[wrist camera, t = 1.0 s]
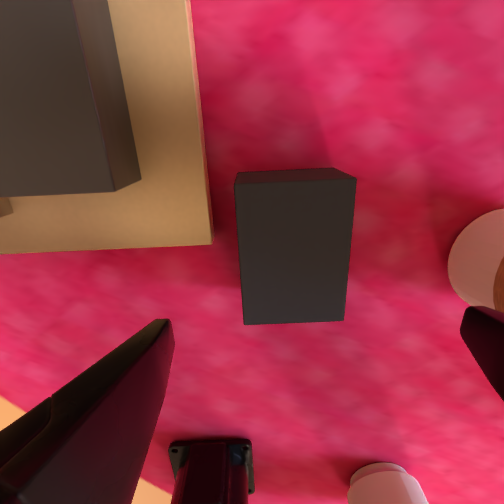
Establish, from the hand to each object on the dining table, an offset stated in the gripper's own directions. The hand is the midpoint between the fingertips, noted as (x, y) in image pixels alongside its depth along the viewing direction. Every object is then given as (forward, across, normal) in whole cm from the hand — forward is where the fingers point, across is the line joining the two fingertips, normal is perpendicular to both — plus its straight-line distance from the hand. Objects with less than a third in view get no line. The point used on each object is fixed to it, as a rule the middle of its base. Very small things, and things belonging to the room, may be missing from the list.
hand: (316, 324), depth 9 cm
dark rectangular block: (+8, 0, 0) cm, 8 cm away
